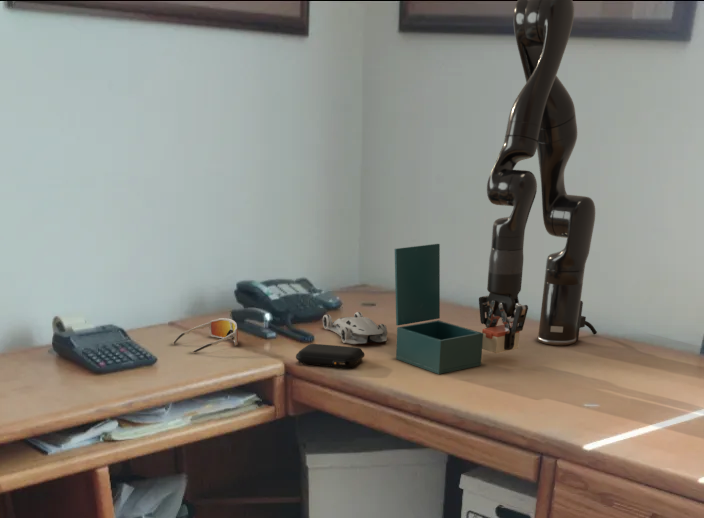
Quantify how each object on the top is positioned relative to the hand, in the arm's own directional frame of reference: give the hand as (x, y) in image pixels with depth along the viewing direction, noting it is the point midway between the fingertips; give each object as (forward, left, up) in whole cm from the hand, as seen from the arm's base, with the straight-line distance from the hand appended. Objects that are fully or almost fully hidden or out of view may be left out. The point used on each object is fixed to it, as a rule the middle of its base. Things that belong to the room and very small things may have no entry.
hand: (499, 346), depth 217 cm
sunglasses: (+48, -52, -3) cm, 71 cm away
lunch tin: (+12, -7, -3) cm, 15 cm away
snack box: (0, 0, 0) cm, 0 cm away
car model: (+13, -38, -3) cm, 40 cm away
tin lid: (+12, -15, +13) cm, 23 cm away
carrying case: (+33, -21, -3) cm, 40 cm away
